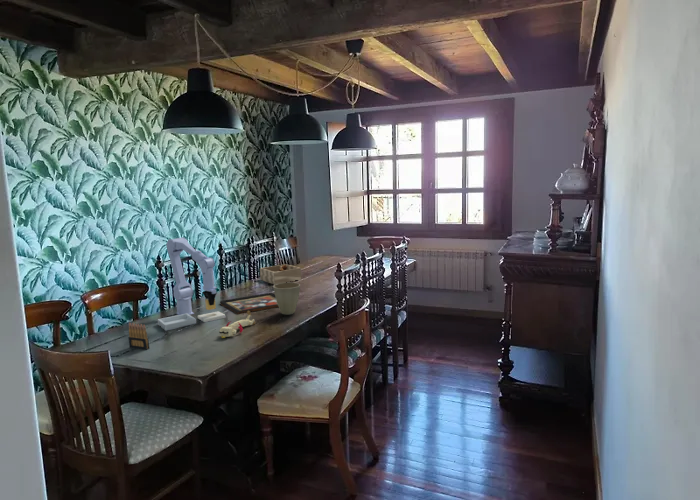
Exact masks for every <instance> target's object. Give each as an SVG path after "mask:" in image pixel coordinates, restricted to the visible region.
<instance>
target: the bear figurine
mask: <svg viewBox="0 0 700 500" xmlns="http://www.w3.org/2000/svg"><path fill="white" fill-rule="evenodd" d="M284 264H285V265H284ZM284 264H282V265H283V266H280V269H279V271H284V270H286V269H287V266H286V263H284Z"/></svg>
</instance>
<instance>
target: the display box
mask: <svg viewBox="0 0 700 500" xmlns="http://www.w3.org/2000/svg"><path fill="white" fill-rule="evenodd" d="M285 264H286V263H283V264H279V265H272V266H265V267H261V268H259V274H260V275H259V276H260V279H259V280H260V281H263V282H266V283H268V284H272V285H273V286H274V285H276V284H279V283H286V282H287V283H288V282H290V281H293V282H296V281H295V280H298V281H302V270H301V269H302V268H301V267H298V266H294V265H290V264H286V266H287V269H286V270H284V271H279V269H280V266H283V265H285Z"/></svg>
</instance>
